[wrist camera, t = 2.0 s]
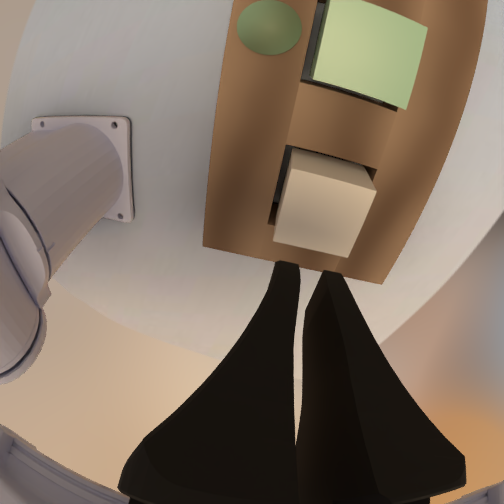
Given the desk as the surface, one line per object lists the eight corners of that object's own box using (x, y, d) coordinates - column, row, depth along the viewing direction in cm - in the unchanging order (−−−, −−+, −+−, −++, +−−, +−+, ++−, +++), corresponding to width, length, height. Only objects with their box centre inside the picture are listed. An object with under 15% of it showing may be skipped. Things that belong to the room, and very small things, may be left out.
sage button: (309, 75, 12) (312, 79, 9) (325, 4, 9) (332, -9, 7) (385, 98, 12) (406, 110, 9) (403, 31, 9) (427, 27, 7)
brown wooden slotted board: (212, 224, 20) (201, 249, 18) (277, -128, 3) (273, -148, 1) (375, 260, 20) (382, 287, 18) (469, -63, 3) (491, -72, 1)
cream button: (276, 210, 17) (272, 241, 15) (292, 147, 14) (291, 168, 12) (341, 225, 17) (347, 257, 14) (363, 166, 14) (376, 191, 12)
